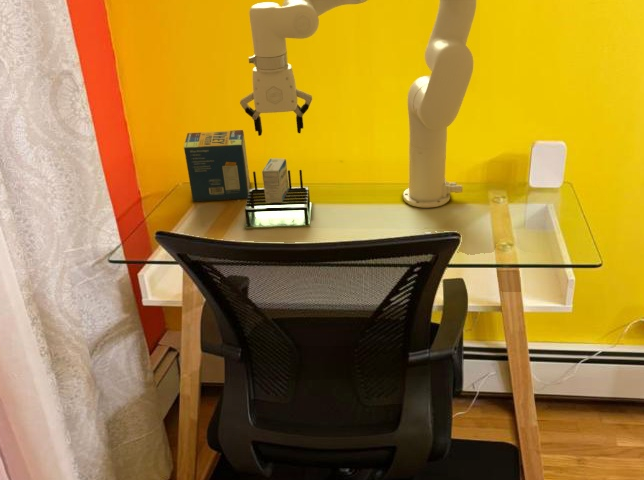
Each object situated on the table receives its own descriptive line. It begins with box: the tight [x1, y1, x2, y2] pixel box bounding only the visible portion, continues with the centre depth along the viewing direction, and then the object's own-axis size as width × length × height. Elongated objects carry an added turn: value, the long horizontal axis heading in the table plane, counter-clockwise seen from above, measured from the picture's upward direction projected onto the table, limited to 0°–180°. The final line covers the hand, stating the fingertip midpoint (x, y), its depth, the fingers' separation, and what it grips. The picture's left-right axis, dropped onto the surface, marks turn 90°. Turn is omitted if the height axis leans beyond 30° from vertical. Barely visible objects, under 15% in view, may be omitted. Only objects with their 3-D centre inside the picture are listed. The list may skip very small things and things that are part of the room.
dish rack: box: [244, 169, 312, 230], centre depth 202 cm, size 16×13×10 cm
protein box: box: [183, 129, 251, 203], centre depth 213 cm, size 10×15×16 cm
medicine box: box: [261, 158, 289, 203], centre depth 199 cm, size 8×4×9 cm, turn 171°
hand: (279, 132), depth 193 cm, fingers open, 9 cm apart
